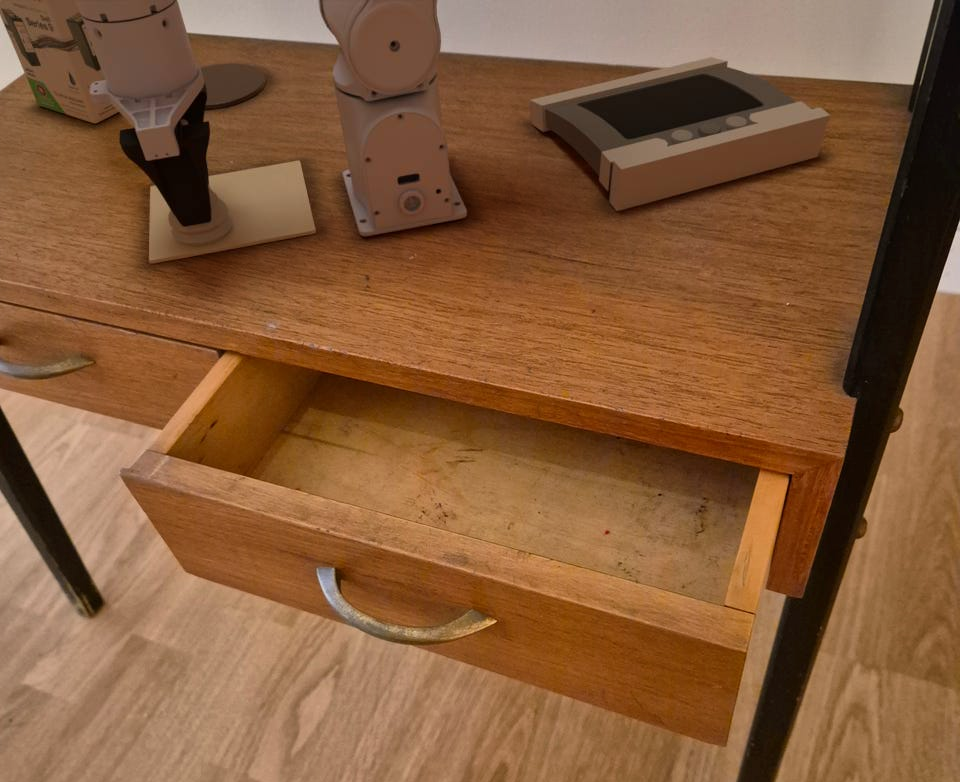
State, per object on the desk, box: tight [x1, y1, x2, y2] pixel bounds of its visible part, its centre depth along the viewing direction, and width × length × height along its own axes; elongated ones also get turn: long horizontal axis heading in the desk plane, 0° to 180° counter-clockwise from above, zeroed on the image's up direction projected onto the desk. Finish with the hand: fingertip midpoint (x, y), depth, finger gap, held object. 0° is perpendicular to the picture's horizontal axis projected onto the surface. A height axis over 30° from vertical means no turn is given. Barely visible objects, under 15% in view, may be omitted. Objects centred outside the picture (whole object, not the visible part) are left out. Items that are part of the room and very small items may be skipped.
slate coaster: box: [200, 63, 266, 110], centre depth 82 cm, size 9×9×1 cm
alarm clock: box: [529, 56, 831, 212], centre depth 69 cm, size 17×5×16 cm
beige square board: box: [148, 160, 317, 265], centre depth 67 cm, size 11×12×1 cm
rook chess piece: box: [168, 119, 233, 247], centre depth 61 cm, size 4×4×8 cm
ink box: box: [0, 0, 120, 124], centre depth 77 cm, size 9×5×12 cm, turn 56°
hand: (196, 207), depth 63 cm, fingers closed on rook chess piece, 3 cm apart
